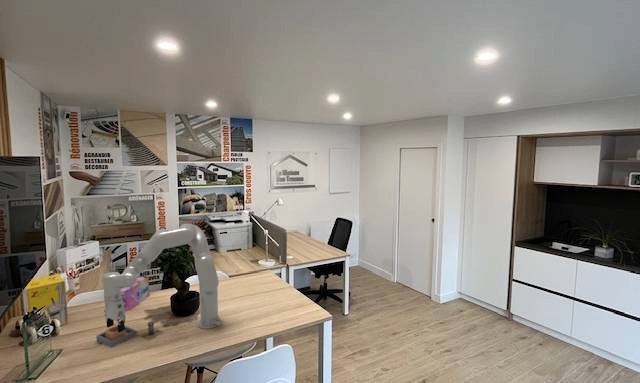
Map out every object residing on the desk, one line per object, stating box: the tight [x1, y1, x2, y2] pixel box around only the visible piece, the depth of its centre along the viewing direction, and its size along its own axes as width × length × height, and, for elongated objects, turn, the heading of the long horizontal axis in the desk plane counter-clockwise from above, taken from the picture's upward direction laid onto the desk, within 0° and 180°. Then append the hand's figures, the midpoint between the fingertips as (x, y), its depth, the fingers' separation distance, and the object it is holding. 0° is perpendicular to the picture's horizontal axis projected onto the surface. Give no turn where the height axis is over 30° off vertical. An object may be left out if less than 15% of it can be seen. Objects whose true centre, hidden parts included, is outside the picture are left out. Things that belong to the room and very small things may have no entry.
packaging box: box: [22, 273, 69, 327], centre depth 186 cm, size 16×16×25 cm
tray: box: [95, 325, 138, 348], centre depth 172 cm, size 13×13×4 cm
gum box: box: [121, 275, 150, 311], centre depth 214 cm, size 24×8×14 cm, turn 178°
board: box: [137, 321, 165, 341], centre depth 176 cm, size 9×9×7 cm
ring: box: [104, 325, 126, 341], centre depth 172 cm, size 6×8×5 cm
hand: (115, 328), depth 171 cm, fingers open, 9 cm apart
